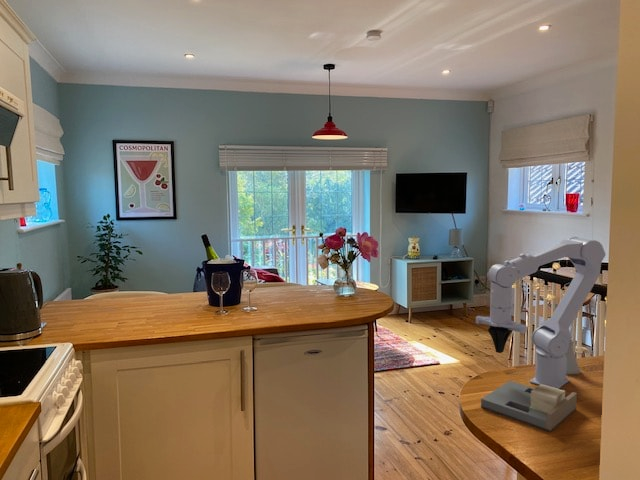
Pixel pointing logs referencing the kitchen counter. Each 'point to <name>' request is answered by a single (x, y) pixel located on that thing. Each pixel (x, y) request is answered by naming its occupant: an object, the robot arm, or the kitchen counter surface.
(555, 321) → the robot arm
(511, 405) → the board
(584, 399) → the kitchen counter surface
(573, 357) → the flask
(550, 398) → the beech block
